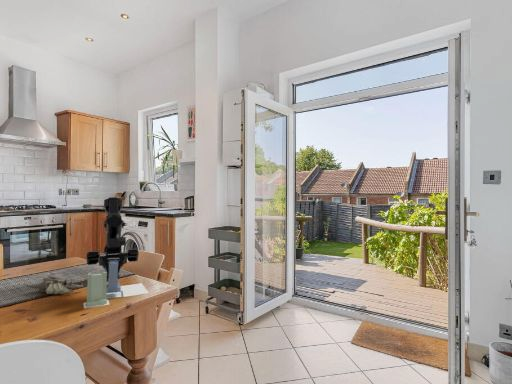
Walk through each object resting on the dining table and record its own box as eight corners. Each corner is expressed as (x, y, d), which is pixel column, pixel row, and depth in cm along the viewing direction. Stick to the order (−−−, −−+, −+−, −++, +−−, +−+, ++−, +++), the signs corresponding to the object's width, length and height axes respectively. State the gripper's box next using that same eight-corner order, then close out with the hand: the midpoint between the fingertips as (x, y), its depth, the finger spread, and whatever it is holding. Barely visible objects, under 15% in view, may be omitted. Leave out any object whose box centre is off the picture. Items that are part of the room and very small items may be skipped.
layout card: (81, 292, 120) (81, 290, 120) (141, 284, 132) (141, 283, 132) (83, 309, 102) (84, 308, 102) (152, 298, 114) (152, 297, 114)
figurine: (77, 271, 132) (92, 279, 121) (75, 285, 132) (90, 294, 121) (21, 277, 117) (33, 287, 106) (19, 292, 117) (31, 304, 106)
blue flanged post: (104, 288, 117) (105, 260, 118) (120, 286, 120) (120, 259, 120) (104, 293, 112) (105, 264, 112) (120, 291, 114) (121, 262, 115)
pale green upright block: (87, 306, 103) (88, 275, 104) (86, 303, 107) (87, 272, 107) (106, 303, 107) (107, 273, 107) (105, 300, 110) (106, 270, 110)
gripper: (87, 230, 116) (84, 265, 106) (138, 229, 124) (140, 261, 114) (88, 247, 123) (85, 281, 113) (136, 245, 131) (138, 276, 121)
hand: (113, 274), depth 115 cm, fingers closed on blue flanged post, 3 cm apart
